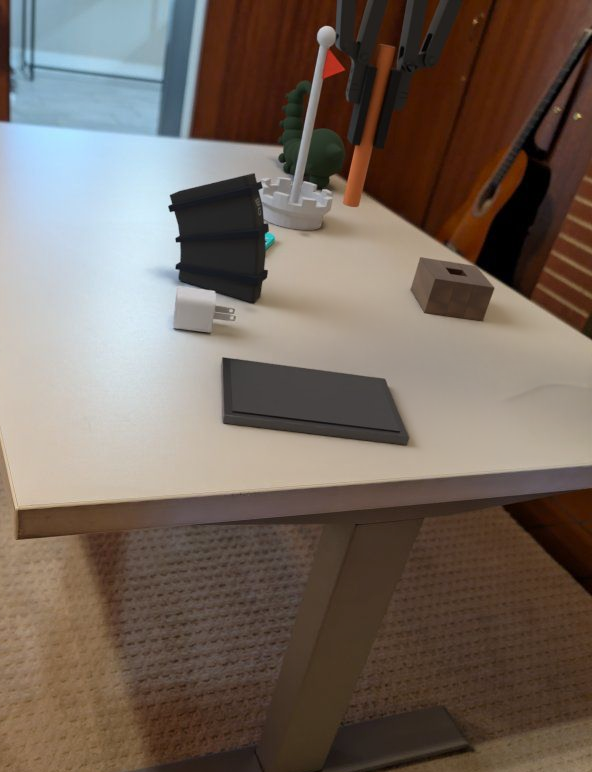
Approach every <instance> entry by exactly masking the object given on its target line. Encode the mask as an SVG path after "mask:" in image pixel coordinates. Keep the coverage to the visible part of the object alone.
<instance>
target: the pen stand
mask: <svg viewBox="0 0 592 772" xmlns="http://www.w3.org/2000/svg"><path fill="white" fill-rule="evenodd" d="M410 291H411V292H412V294H413V296H414V297H415V299H416V302H417V303H418V304H419V306H420V308H421V310H422V311H423V313H425V314H431V315H437V316H445V317H452V318H457V319H458V318H459V319H466V320H472V321H478V322H479V321H480V322H483V321H484V319H485V316H486V313H487V311H488V308H489V305H490V302H491V299H492V297H493V294H494V291H495V286H494V285H493V284H492V283H491V281H489V279H488V278H487V277H486V275H485V274H484V273H483V272H482V271H481V270H480V269H479V268H478V266H477V265H473V264H467V263H459V262H454V261H447V260H441V259H434V258H428V257H422V256H421V257H420V256H419V260H418V263H417V267H416V270H415V273H414V276H413V280H412V283H411V287H410Z"/></svg>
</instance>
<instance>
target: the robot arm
mask: <svg viewBox="0 0 592 772" xmlns="http://www.w3.org/2000/svg"><path fill="white" fill-rule="evenodd" d="M388 2H389V0H367V2H366V5H365V9H364V12H363V16H362V19H361V22H360V26H359V30H358V32H357V33H358V34H357V36H356V41H355V26H356V9H357V8H356V7H357V0H336V18H335V19H336V20H335V32H336V34H335V42H334V45H335V47H336V48H337V49H338V50H339V51H340V52H342V53H344V54H345V55H346V56H348V57H349V58H350V60H351V65H350V71H349V74H348V75H349V76H348V81H347V84H346V89H345V98H346V101H347V102H348V103H353V104H354V105H353V109H352V113H351V118H350V123H349V127H348V131H347V137H346V139H347V140H348V141H349V143H350V144H351V145H354V146H356V145H359V146H360V143H361V139H362V134H363V130H364V125H365V121H366V117H367V112H368V108H369V103H370V99H371V94H372V90H373V86H374V81H375V77H376V72H377V68H376V67H375V66H373V65H374V64H372V63H370V62H371V60H372V58H373V54H374V50H375V46H376V43H377V40H378V37H379V34H380V30H381V27H382V22H383V19H384V16H385V13H386V9H387V6H388ZM463 2H464V0H439V2H438V5H437V7H436V9H435V12H434V15H433V17H432V19H431V22H430V24H429V27H428V30H427V32H426V35H425V37H424V39H423V43H422V38H423V32H424V26H425V21H426V15H427V10H428V3H429V0H406V5H405V12H404V17H403V22H402V29H401V35H400V40H399V47H398V52H397V59H396V68H395V67H391V71H390V75H389V80H388V84H387V88H386V92H385V97H384V101H383V105H382V109H381V114H380V118H379V122H378V126H377V131H376V135H375V139H374V144H373V148H375V149H378V150H385V146H386V140H387V136H388V132H389V129H390V125H391V120H392V116H393V111H399V112H402V111H403V109H404V108H405V106H406V103H407V98H408V95H409V91H410V86H411V83H412V79H413V76H414V75H415V73H417V72H418V71H419V70H423V69H432V68H434V67H436V66H437V64H438V62H439V60H440V57H441V55H442V52H443V51H444V48H445V45H446V43H447V41H448V38H449V36H450V33H451V31H452V29H453V26H454V24H455V22H456V19H457V16H458V15H459V12H460V9H461V7H462V5H463ZM421 43H422V45H421Z"/></svg>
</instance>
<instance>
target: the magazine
mask: <svg viewBox="0 0 592 772" xmlns="http://www.w3.org/2000/svg"><path fill="white" fill-rule="evenodd" d="M262 188H263V187H262V183H261V182H260V181H258V180H257V177H256V173H254V172H253V173H249V174H245V175H241V176H240V175H239V176H236V177H232V178H228V179H223V180H219V181H215V182H212V183H206V184H203V185H198V186H194V187H191V188H186V189H181V190H178V191H175V192H173V193H170V194H169V199H170V202H171V204H169V205H168V206H167V208H168V212H169V213H174V215H175V219H176V222H177V229H178V236H177V237H175V243H177V244H178V243H179V247H180V248H179V250H180V254H179V255H180V256H179V257H180V259H179V262H178V263H175V268H174V269H175V270H177V271H179V272H178V280H179V281H181V282H183V283H187V284H190V285H192V286H196V287H200V288H202V289H205V290H211V291H215V293H218V294H222V295H226V296H229V297H231V298H236V299H238V300H241V301H244V302H248V303H255V302H256V301H257V300H258V299H259V298H260V297H261V295H262V288H263V282H264V281H265V280H267V278H268V273H269V270H268V269H265V264H266V252H267V249H266V248H265V234H266V233H270V229H269V228H270V227H269V222H268V223H267V222H266V223H265V220H264V217H263V206H262V202H261V198H260V193H259V190H260V189H262Z"/></svg>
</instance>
